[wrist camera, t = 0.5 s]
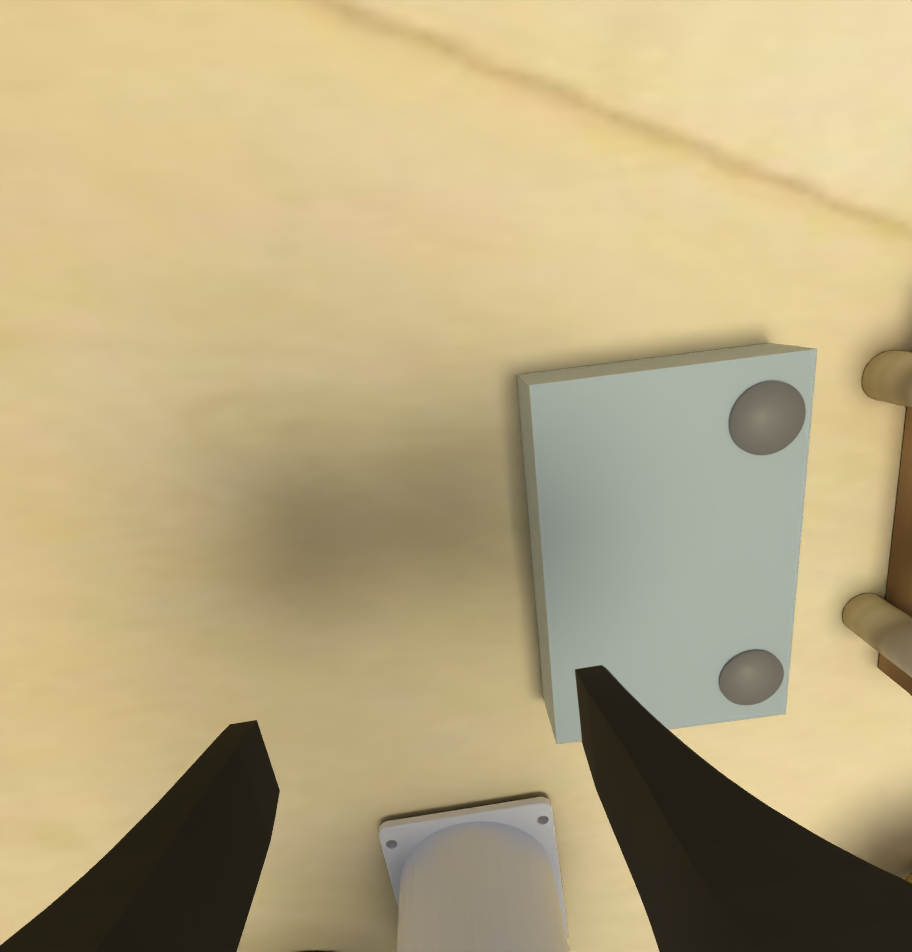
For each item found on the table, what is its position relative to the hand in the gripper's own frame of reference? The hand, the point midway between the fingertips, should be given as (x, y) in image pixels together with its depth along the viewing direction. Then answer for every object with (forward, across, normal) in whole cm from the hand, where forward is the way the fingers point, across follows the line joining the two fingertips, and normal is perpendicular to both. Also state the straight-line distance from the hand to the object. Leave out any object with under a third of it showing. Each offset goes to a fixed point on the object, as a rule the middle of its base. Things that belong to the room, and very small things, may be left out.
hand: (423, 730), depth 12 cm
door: (+10, -9, +1) cm, 13 cm away
